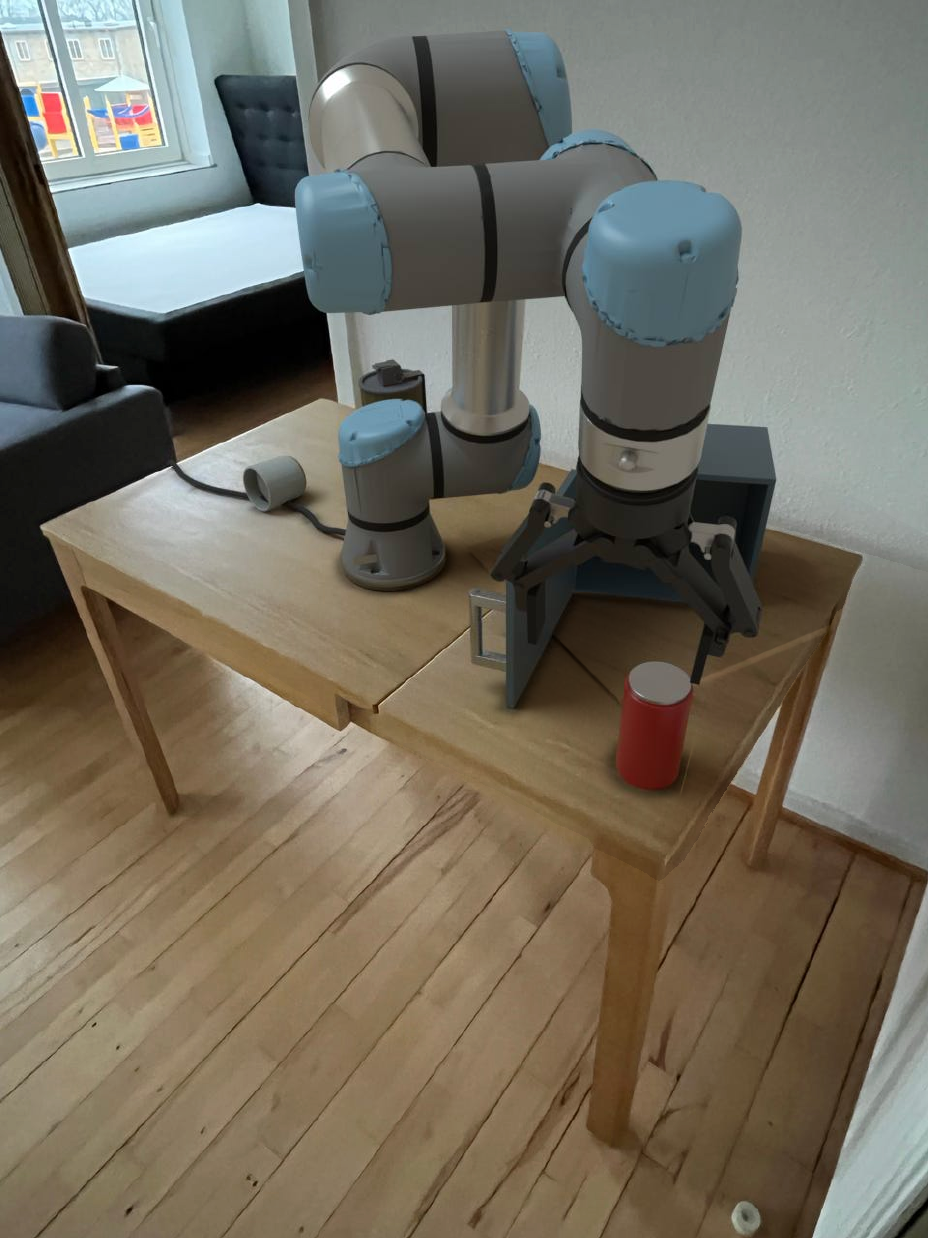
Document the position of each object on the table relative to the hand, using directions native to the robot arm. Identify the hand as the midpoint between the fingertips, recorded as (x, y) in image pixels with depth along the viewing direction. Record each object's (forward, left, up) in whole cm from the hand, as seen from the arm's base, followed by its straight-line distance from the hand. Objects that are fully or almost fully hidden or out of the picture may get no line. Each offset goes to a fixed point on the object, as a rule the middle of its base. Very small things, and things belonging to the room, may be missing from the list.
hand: (614, 651), depth 68 cm
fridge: (-32, +33, -22) cm, 51 cm away
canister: (-79, +13, -22) cm, 83 cm away
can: (-3, +9, -22) cm, 24 cm away
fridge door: (-28, +8, -22) cm, 36 cm away
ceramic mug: (-82, -9, -22) cm, 85 cm away
